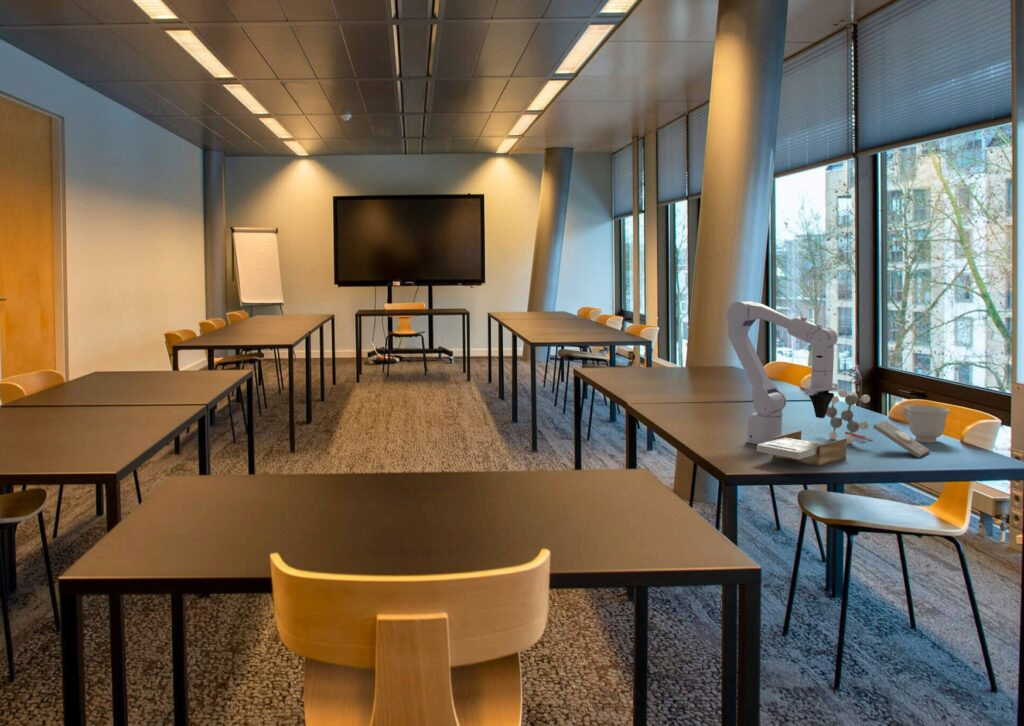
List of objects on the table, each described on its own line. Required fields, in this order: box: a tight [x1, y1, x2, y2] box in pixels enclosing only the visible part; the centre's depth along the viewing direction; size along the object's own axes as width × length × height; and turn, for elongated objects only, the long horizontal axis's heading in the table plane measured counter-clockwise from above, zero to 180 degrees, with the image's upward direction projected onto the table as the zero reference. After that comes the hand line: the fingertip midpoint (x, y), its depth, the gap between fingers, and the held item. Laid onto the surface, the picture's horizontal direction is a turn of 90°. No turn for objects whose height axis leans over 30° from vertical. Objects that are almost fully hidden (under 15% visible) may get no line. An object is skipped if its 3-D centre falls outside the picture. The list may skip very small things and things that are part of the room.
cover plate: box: [756, 437, 824, 459], centre depth 211 cm, size 12×14×2 cm
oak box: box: [772, 430, 847, 467], centre depth 217 cm, size 14×14×6 cm
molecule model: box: [825, 388, 874, 445], centre depth 240 cm, size 20×16×16 cm
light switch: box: [872, 420, 931, 458], centre depth 224 cm, size 8×6×14 cm
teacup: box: [902, 404, 951, 444], centre depth 239 cm, size 12×15×10 cm
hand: (820, 417), depth 224 cm, fingers closed
